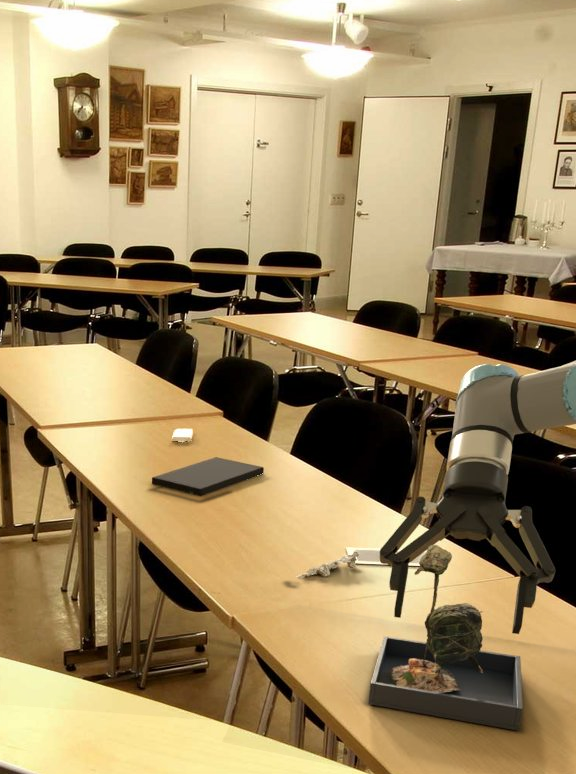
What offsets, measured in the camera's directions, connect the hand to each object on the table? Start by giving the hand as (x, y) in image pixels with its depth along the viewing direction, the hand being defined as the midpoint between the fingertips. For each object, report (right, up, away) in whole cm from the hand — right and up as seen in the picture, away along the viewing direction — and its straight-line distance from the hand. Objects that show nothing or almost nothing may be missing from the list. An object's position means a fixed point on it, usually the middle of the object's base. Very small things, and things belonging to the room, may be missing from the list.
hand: (455, 621), depth 112 cm
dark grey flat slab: (-13, +28, +99) cm, 104 cm away
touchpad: (+11, +9, +50) cm, 52 cm away
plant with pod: (0, -9, +6) cm, 11 cm away
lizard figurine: (-3, +6, +44) cm, 44 cm away
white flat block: (-16, +40, +127) cm, 135 cm away
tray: (+1, -9, +6) cm, 11 cm away
